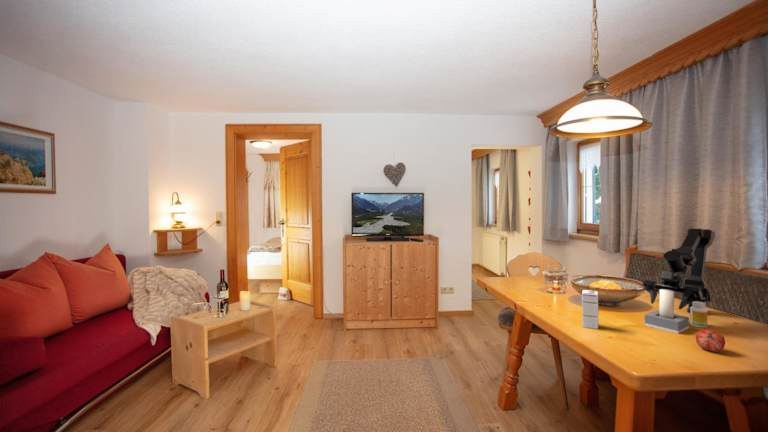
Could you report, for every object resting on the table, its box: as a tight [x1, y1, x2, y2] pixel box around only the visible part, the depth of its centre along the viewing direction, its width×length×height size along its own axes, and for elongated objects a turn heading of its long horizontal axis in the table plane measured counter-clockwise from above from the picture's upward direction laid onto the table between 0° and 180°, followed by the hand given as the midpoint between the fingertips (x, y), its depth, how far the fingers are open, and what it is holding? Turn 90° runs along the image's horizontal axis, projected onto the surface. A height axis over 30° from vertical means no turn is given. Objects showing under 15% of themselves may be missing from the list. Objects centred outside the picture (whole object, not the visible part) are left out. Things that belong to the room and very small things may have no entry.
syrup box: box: [581, 289, 600, 330], centre depth 140 cm, size 6×6×14 cm
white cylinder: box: [658, 289, 675, 319], centre depth 139 cm, size 5×5×14 cm
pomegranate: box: [695, 328, 726, 353], centre depth 117 cm, size 7×7×10 cm
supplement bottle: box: [689, 301, 709, 329], centre depth 140 cm, size 5×5×10 cm
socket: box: [644, 309, 690, 334], centre depth 139 cm, size 11×11×4 cm
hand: (665, 305), depth 138 cm, fingers open, 9 cm apart
